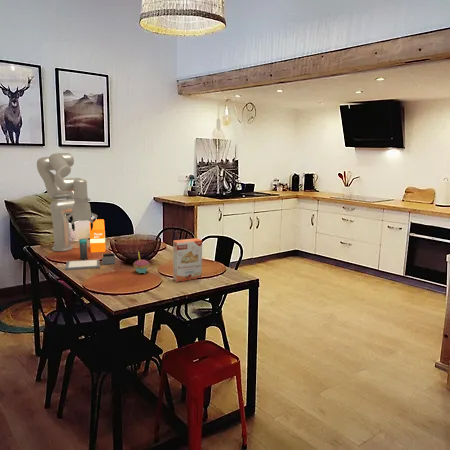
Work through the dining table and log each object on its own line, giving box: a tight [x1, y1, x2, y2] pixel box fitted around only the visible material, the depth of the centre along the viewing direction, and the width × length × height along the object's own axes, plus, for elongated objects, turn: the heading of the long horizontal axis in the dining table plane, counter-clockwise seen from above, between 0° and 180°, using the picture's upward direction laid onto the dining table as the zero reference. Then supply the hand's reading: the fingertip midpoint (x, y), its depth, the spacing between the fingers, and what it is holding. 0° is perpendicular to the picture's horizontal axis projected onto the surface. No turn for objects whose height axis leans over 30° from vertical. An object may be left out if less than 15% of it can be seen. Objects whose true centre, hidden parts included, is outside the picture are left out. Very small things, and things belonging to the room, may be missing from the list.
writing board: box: [64, 258, 101, 271], centre depth 246 cm, size 14×18×1 cm
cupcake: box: [132, 250, 151, 274], centre depth 234 cm, size 9×8×12 cm
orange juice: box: [89, 218, 106, 253], centre depth 274 cm, size 8×9×20 cm
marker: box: [78, 238, 88, 260], centre depth 256 cm, size 4×4×12 cm
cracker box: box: [172, 237, 203, 283], centre depth 224 cm, size 14×6×21 cm, turn 117°
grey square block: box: [101, 252, 116, 266], centre depth 251 cm, size 7×7×4 cm
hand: (82, 230), depth 253 cm, fingers open, 9 cm apart
